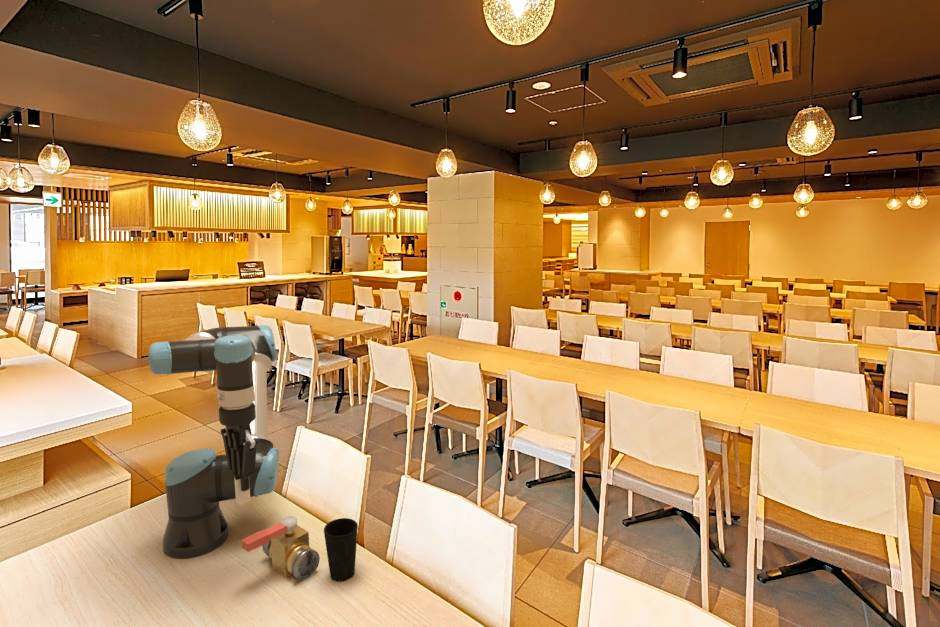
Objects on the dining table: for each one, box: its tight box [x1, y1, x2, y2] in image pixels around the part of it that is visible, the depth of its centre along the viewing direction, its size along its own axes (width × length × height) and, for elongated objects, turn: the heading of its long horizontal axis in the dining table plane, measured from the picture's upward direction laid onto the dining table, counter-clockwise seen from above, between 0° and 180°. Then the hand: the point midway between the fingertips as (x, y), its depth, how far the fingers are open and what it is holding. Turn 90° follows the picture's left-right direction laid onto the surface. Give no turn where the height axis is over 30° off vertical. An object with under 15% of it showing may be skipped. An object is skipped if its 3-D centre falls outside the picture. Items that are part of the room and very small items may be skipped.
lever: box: [240, 515, 298, 553], centre depth 119 cm, size 13×4×2 cm, turn 141°
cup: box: [323, 517, 359, 583], centre depth 120 cm, size 8×8×12 cm
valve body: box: [262, 524, 321, 581], centre depth 123 cm, size 14×7×10 cm, turn 51°
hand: (243, 501), depth 119 cm, fingers closed
